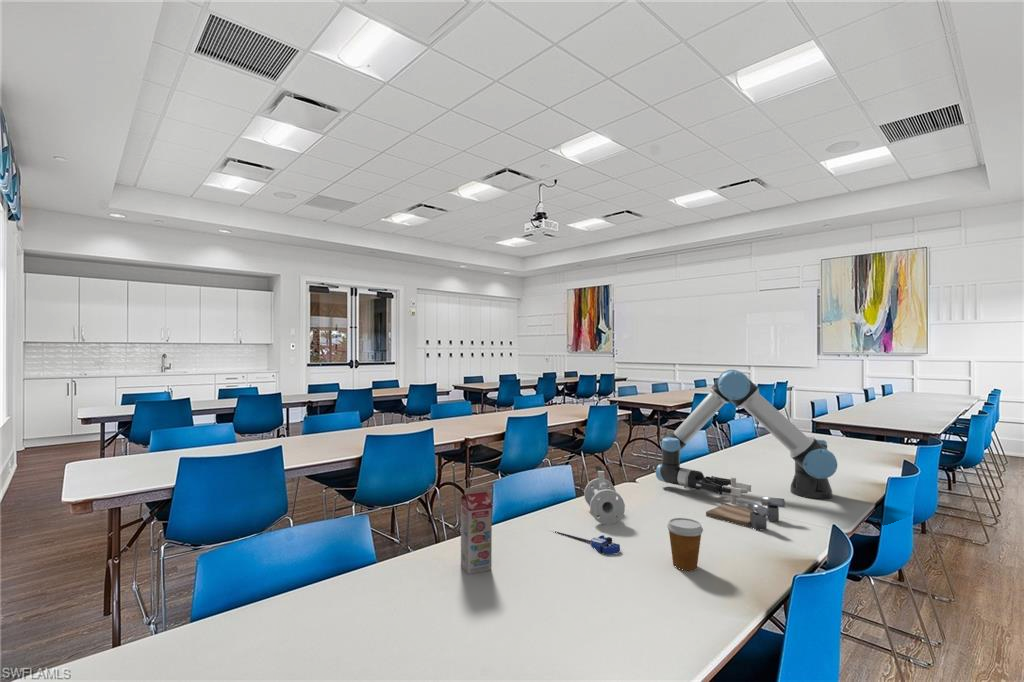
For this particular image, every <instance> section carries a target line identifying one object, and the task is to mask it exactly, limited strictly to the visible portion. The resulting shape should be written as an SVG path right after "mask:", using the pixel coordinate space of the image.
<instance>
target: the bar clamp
mask: <svg viewBox="0 0 1024 682" xmlns="http://www.w3.org/2000/svg"><path fill="white" fill-rule="evenodd" d="M554 531H555V530H554ZM556 532H557V533H558V534H557V533H556ZM555 534H557V535H560V534H561V536H564V535H565V536H564V537H567V536H568V537H567V538H571V537H572V538H571V539H575V540H579V541H583V542H585V543H590V547H591V548H593V549H594V548H595V549H596V550H597V551H598V552H597V551H596V550H595V549H594V550H595V551H596V552H597V553H600V554H602V553H604V554H603V555H614V554H613V553H618V552H619V551H620V552H621V545H620V543H616V542H615V543H612V542H613V537H610V536H607V537H605V535H598V537H592V538H591V540H590V539H587V538H582V537H579V536H576V535H572V534H571V535H570V534H566V533H564V532H559V531H555ZM620 552H619V553H620ZM619 553H618V554H619Z"/></svg>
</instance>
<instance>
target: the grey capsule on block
mask: <svg viewBox="0 0 1024 682" xmlns="http://www.w3.org/2000/svg"><path fill="white" fill-rule="evenodd" d="M785 503H786V502H785V498H778V497H769V496H761V506H763V507H766V508H767V509H768V510H769V515H768V516H767V520H768V522H769V523H775V522H778V523H777V524H779V523H780V522H779V521H780V518H779V517H780V515H779V514H780V510H779V508H785V507H786V504H785Z"/></svg>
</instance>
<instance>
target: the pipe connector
mask: <svg viewBox="0 0 1024 682" xmlns="http://www.w3.org/2000/svg"><path fill="white" fill-rule="evenodd" d="M730 479H731V485H728V486H729V487H734V488H736V482H737V478H736V476H735V477H734V476H732V477H730ZM738 489H740V488H738ZM748 493H749V492H748V491H747V489H741V494H748ZM722 494H724V493H723V492H722ZM730 504H731V505H736V504H737V496H735V495H731V494H730Z"/></svg>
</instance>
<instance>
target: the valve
mask: <svg viewBox="0 0 1024 682" xmlns="http://www.w3.org/2000/svg"><path fill="white" fill-rule="evenodd" d="M594 469H595V470H596V471H595V472H596V473H598V474H597V475H598V477H597V478H594V479H592V480H590V481H589V482H588V483H587V484H586V486H585V487H584V500H585V502H586V504H587V505H588V506H589V509H590V510H589V511H590V513H591V515H592V516H593V518H594V520H595V522H598V523H600V524H602V525H605V524H607V525H608V524H609V525H610V526H611V525H614V524H616V523H617V522H619V521H620V520H621V519H622V518H623V517H624V514H625V511H626V509H625V508H626V504H625V502H624V499H623V497H622V496H621V494H620V493H618V492H617V491H616V487H615V486H614V485H613V483H612V482H611V481H609V480H608V479H606V476H605V471H604V469H603V468H602V466H601V465H600V466H599V465H598V466H594ZM616 516H617V517H616ZM609 525H608V526H609Z"/></svg>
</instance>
